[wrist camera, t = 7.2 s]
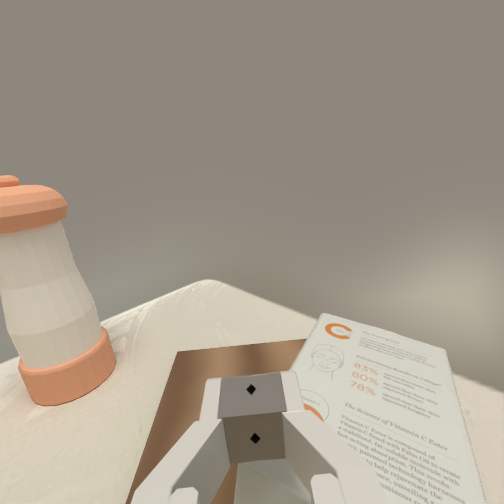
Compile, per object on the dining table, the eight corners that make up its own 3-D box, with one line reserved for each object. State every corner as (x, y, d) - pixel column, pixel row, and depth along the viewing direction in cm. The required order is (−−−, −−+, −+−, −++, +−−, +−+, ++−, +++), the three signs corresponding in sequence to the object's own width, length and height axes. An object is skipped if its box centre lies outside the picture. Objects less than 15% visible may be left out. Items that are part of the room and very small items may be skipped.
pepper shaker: (131, 361, 29) (77, 168, 23) (57, 418, 23) (-42, 177, 17) (89, 344, 32) (33, 174, 26) (15, 390, 26) (-79, 183, 20)
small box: (449, 753, 8) (421, 424, 20) (530, 639, 6) (448, 347, 18) (222, 567, 12) (309, 377, 23) (231, 457, 10) (322, 309, 21)
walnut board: (105, 584, 13) (101, 574, 13) (178, 358, 28) (177, 351, 28) (397, 554, 13) (398, 544, 13) (314, 344, 28) (314, 337, 28)
